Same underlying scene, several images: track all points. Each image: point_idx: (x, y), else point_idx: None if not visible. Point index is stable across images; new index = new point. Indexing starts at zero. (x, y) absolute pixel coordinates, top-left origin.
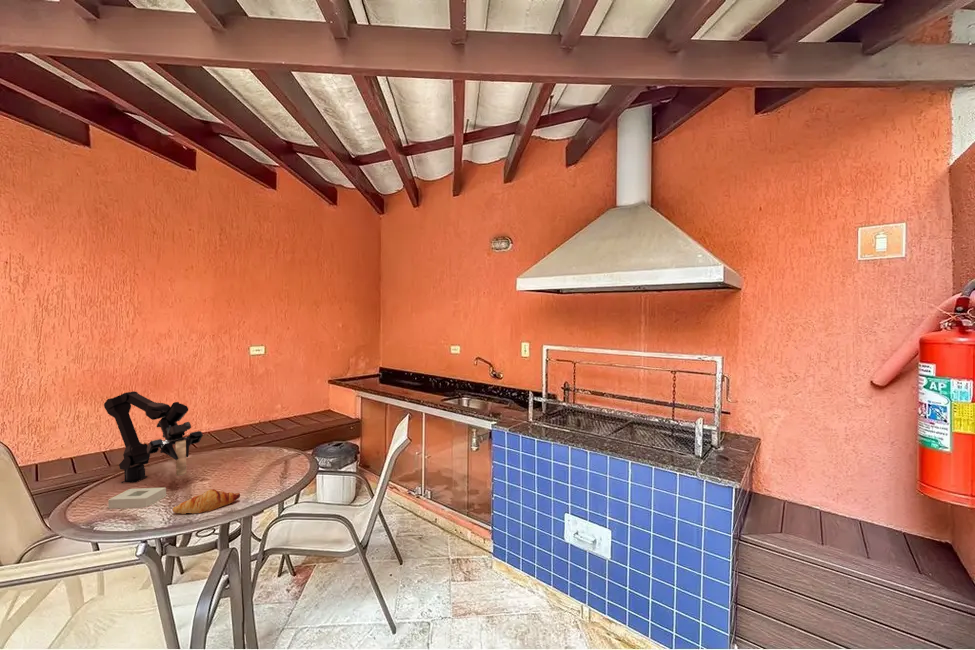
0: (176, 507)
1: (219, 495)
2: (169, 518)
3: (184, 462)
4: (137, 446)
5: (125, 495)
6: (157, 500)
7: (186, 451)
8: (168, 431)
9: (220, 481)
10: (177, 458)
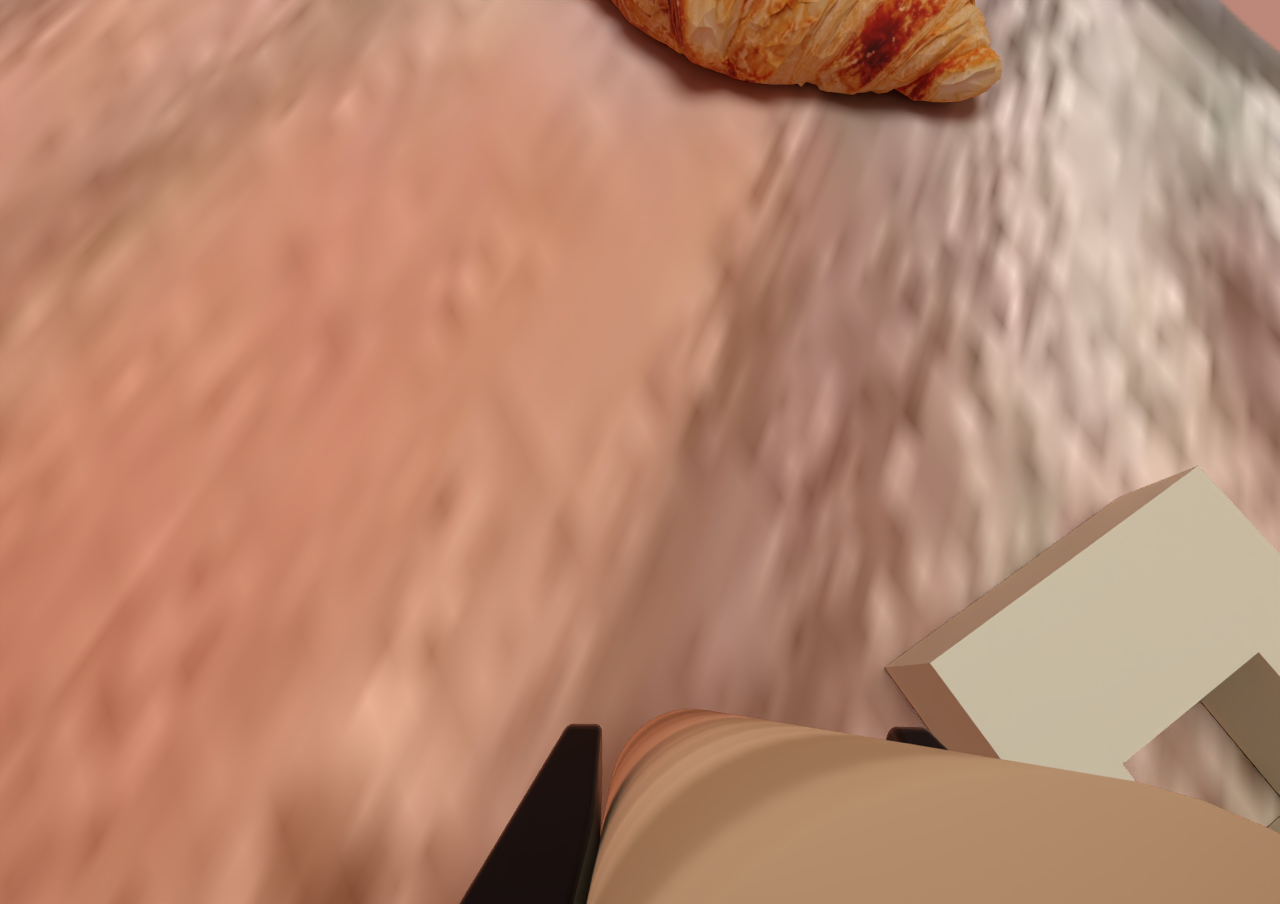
0: (986, 28)
1: None
2: (1016, 61)
3: (681, 719)
4: None
5: None
6: (999, 586)
7: (578, 860)
8: None
9: (282, 558)
10: (901, 730)
